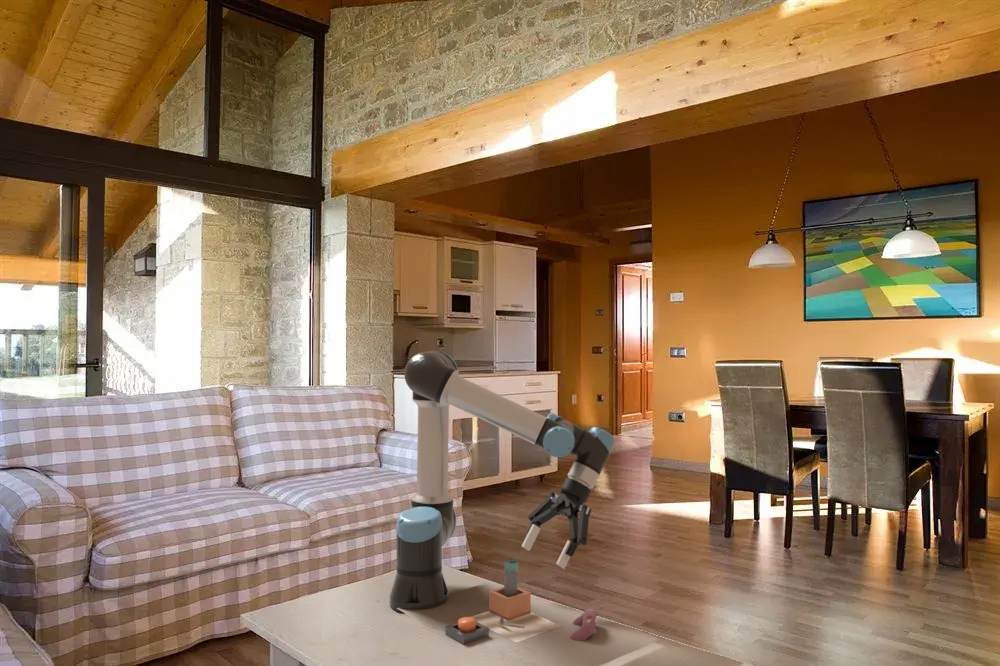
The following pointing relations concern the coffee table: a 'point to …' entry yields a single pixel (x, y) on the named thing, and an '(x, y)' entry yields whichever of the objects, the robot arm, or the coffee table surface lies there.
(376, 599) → the coffee table surface
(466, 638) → the button housing
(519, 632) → the board
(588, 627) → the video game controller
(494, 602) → the pen cup
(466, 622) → the button
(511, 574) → the marker
